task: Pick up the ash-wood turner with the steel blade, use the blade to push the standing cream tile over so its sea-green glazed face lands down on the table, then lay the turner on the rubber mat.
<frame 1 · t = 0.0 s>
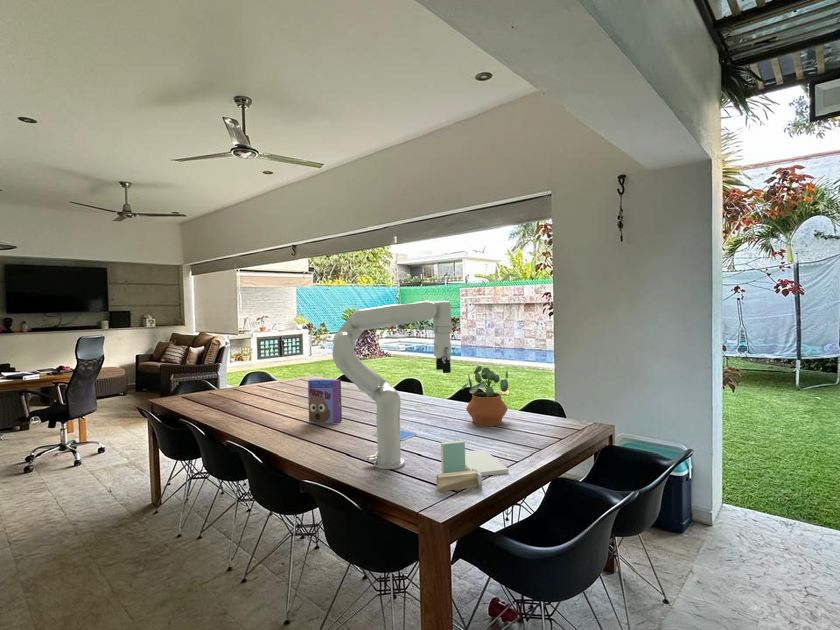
hand: (443, 371, 187), 37 cm above the table, tool pointing down, fingers open, 9 cm apart
tablet computer: (395, 436, 223), on the table
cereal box: (325, 422, 250), on the table
potted plant: (484, 423, 240), on the table
rest mat: (479, 464, 180), on the table
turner: (459, 487, 158), on the table
tile: (453, 473, 171), on the table
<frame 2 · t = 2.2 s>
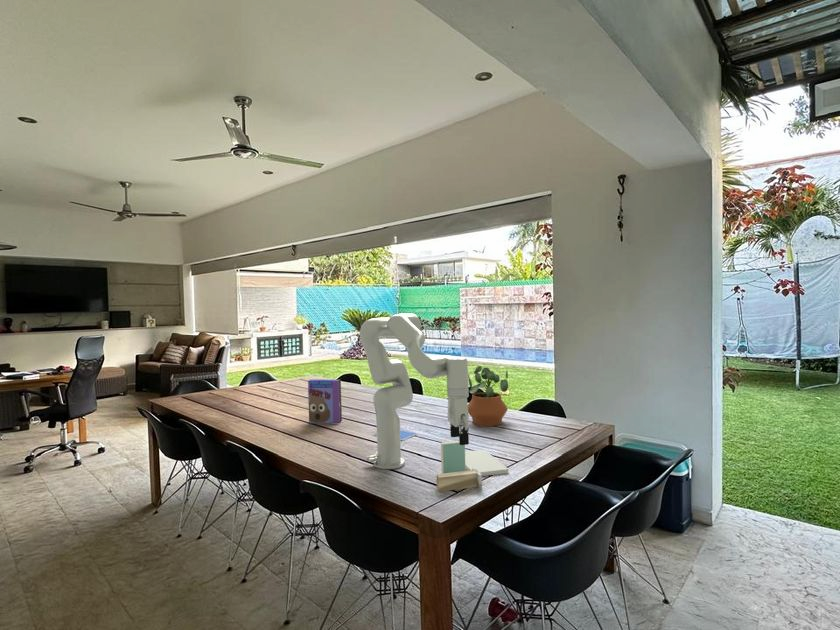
hand: (459, 440, 157), 17 cm above the table, tool pointing down, fingers open, 9 cm apart
nothing on the table moved.
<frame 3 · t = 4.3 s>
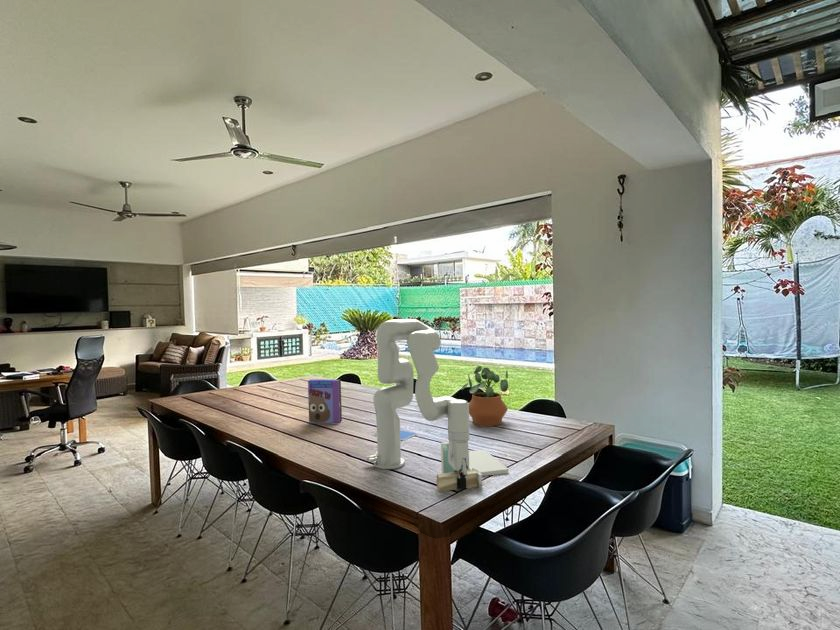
hand: (459, 486, 158), 0 cm above the table, tool pointing down, fingers closed on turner, 3 cm apart
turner: (460, 487, 158), on the table, touching gripper
everything else where it was.
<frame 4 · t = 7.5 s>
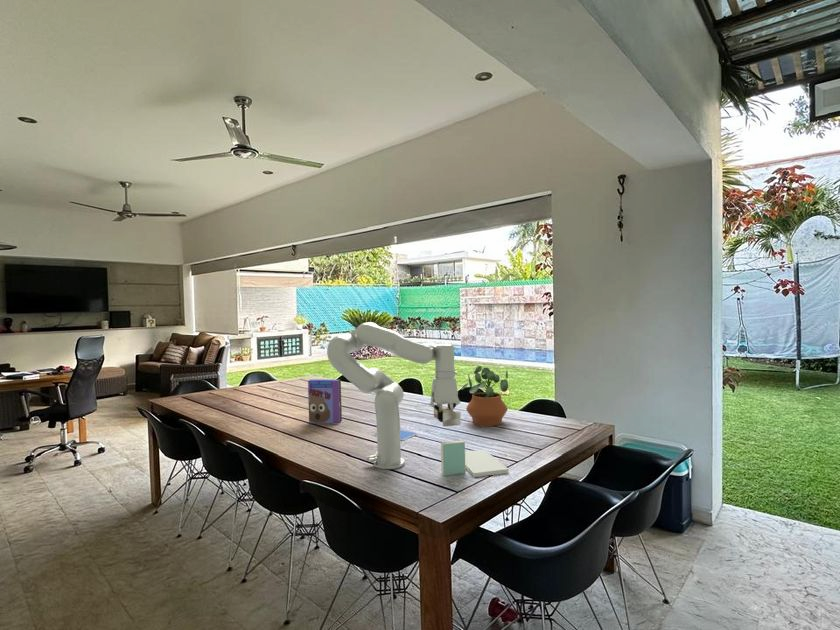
hand: (444, 420, 178), 19 cm above the table, tool pointing down, fingers closed on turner, 3 cm apart
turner: (444, 421, 178), point 18 cm above the table, touching gripper
everything else where it was.
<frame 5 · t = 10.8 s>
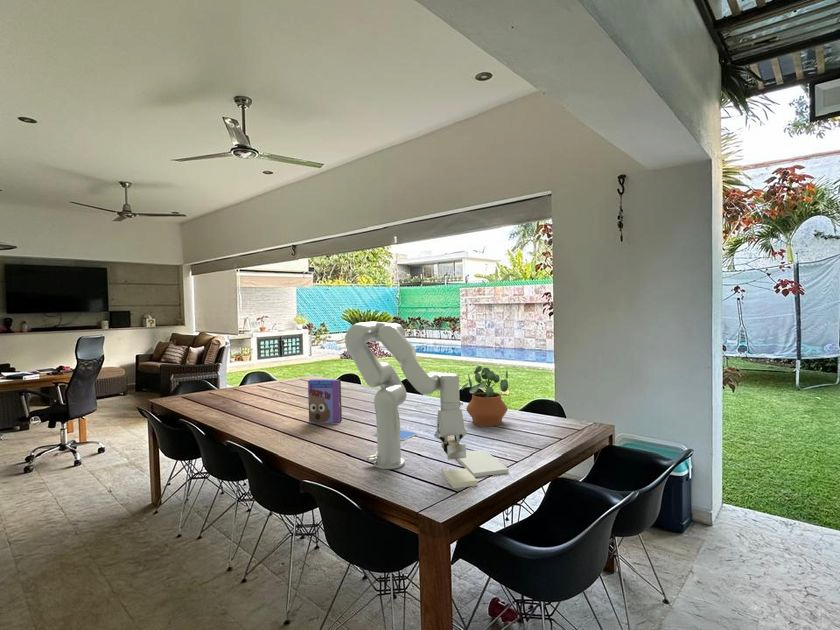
hand: (451, 452, 173), 7 cm above the table, tool pointing down, fingers closed on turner, 3 cm apart
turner: (451, 452, 173), point 7 cm above the table, touching gripper
tile: (454, 472, 170), point 1 cm above the table, tilted 90°
everything else where it was.
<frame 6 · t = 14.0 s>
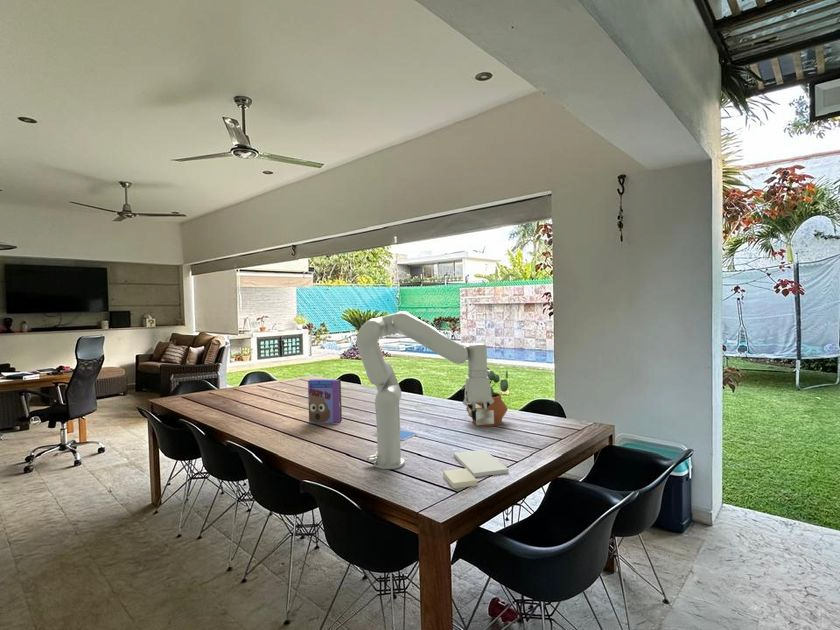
hand: (478, 419, 179), 18 cm above the table, tool pointing down, fingers closed on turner, 3 cm apart
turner: (478, 419, 179), point 18 cm above the table, touching gripper
everything else where it was.
when the fingers open (3 cm above the table, at t = 16.8 s): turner drops 1 cm, resting on rest mat.
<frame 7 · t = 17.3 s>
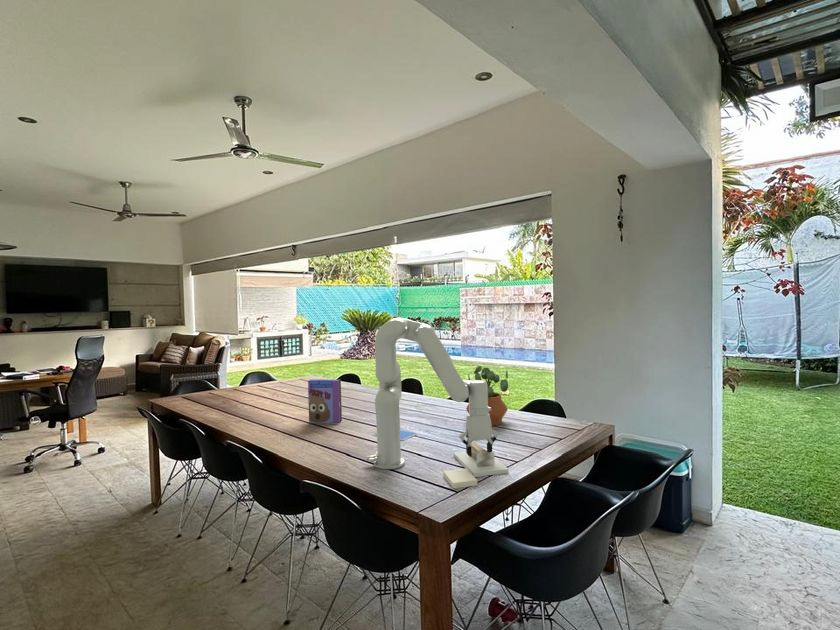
hand: (479, 454, 180), 4 cm above the table, tool pointing down, fingers open, 8 cm apart
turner: (479, 460, 180), point 1 cm above the table, touching rest mat
everything else where it was.
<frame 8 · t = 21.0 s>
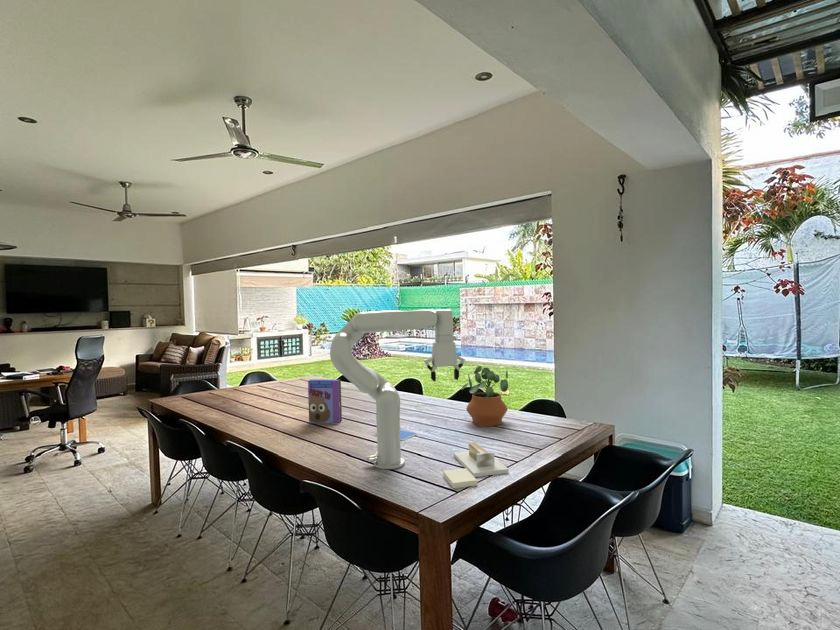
hand: (445, 380, 185), 33 cm above the table, tool pointing down, fingers open, 9 cm apart
nothing on the table moved.
at the end: tile tilted 90°; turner inside the target area on the rest mat (0.1 cm from its centre), point 1.5 cm above the rest mat's base; the gripper is holding nothing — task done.
